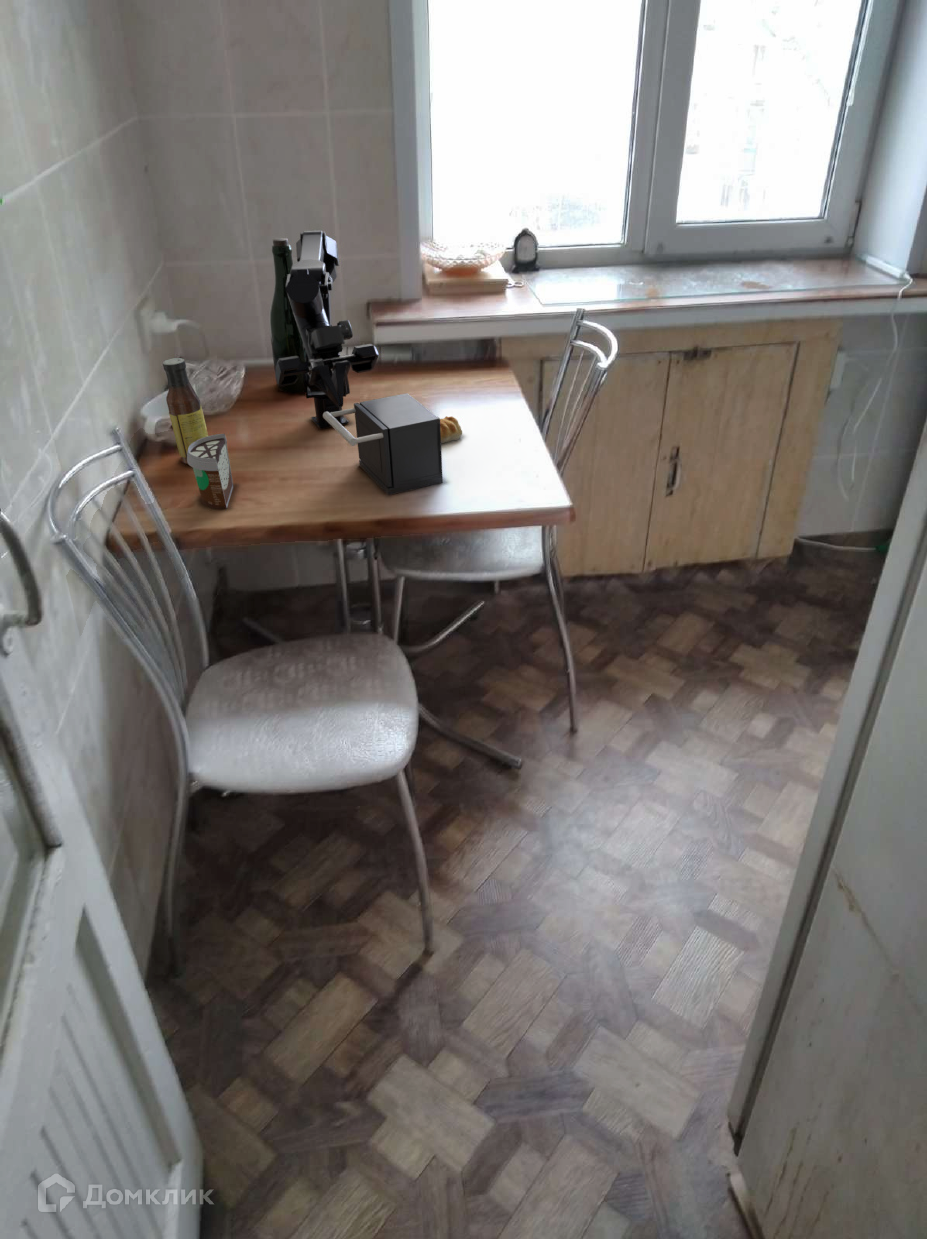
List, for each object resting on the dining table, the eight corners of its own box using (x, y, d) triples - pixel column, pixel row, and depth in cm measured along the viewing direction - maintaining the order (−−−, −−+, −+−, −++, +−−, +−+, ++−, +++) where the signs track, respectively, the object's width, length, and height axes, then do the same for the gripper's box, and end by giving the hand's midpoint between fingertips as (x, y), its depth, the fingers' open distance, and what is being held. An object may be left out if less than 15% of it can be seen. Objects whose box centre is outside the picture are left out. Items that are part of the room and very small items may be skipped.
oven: (388, 495, 164) (383, 429, 157) (359, 465, 176) (353, 403, 169) (442, 482, 168) (440, 418, 161) (411, 454, 179) (407, 393, 172)
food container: (201, 484, 170) (191, 434, 165) (234, 482, 170) (225, 432, 165) (190, 514, 160) (179, 461, 154) (225, 512, 160) (215, 459, 155)
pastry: (428, 449, 181) (427, 431, 179) (408, 440, 185) (407, 422, 183) (465, 437, 186) (464, 419, 184) (445, 428, 190) (444, 411, 188)
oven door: (355, 494, 161) (349, 436, 155) (328, 464, 172) (321, 409, 166) (392, 486, 164) (387, 428, 158) (363, 457, 175) (358, 402, 169)
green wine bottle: (270, 393, 211) (247, 243, 193) (287, 378, 219) (267, 233, 201) (312, 395, 209) (293, 243, 191) (328, 380, 217) (311, 233, 199)
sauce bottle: (219, 455, 181) (200, 357, 170) (201, 468, 176) (181, 367, 165) (191, 452, 183) (170, 354, 172) (173, 464, 178) (151, 364, 167)
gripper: (270, 313, 157) (296, 393, 155) (370, 298, 164) (397, 376, 161) (264, 347, 168) (289, 423, 165) (359, 332, 174) (384, 405, 172)
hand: (340, 406), depth 166 cm, fingers closed
